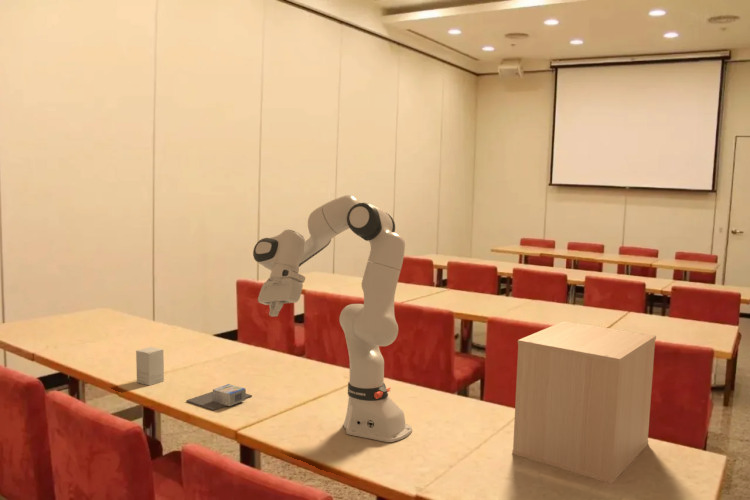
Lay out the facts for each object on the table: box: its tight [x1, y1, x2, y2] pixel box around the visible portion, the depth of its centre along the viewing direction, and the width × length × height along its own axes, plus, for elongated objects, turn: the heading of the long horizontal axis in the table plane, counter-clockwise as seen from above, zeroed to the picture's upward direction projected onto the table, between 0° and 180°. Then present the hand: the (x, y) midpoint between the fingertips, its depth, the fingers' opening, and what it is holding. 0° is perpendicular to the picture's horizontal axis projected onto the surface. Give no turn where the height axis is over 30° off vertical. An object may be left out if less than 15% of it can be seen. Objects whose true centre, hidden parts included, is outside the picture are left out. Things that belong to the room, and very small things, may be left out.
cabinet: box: [511, 320, 657, 485], centre depth 194 cm, size 35×29×34 cm
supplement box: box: [135, 346, 165, 386], centre depth 248 cm, size 7×7×13 cm
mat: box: [186, 391, 253, 412], centre depth 231 cm, size 14×18×1 cm
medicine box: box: [212, 383, 247, 407], centre depth 227 cm, size 8×4×9 cm
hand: (273, 315), depth 213 cm, fingers closed
